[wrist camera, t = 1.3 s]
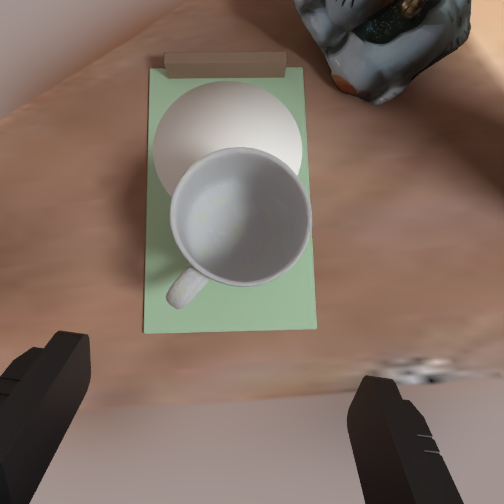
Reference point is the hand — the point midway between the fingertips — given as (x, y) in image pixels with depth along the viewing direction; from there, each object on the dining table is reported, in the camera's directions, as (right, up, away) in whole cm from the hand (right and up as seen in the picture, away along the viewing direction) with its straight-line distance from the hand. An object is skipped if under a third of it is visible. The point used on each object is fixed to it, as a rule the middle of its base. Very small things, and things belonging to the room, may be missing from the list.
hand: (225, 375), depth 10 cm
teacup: (-1, +4, +24) cm, 24 cm away
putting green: (-2, +10, +25) cm, 27 cm away
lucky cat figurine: (+13, +26, +28) cm, 40 cm away
